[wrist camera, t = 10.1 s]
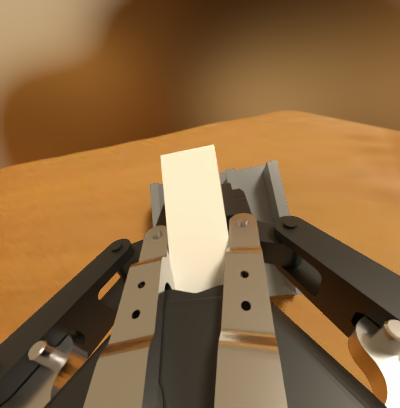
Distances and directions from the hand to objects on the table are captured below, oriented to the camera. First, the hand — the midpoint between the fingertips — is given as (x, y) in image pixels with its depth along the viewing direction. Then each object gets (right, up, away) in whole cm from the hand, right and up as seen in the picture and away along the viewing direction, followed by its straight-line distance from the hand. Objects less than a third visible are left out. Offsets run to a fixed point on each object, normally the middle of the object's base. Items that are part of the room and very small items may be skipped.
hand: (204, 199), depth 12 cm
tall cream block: (+1, -3, +4) cm, 5 cm away
